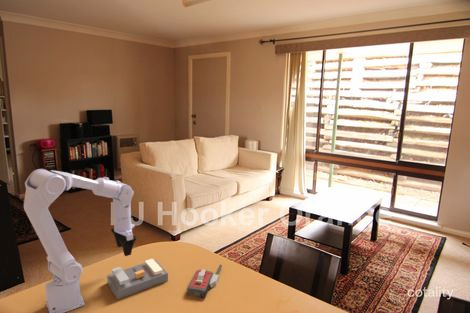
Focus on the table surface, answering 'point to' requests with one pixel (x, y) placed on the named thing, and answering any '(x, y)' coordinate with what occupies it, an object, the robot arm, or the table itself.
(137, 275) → the orange rectangular block
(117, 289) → the panel
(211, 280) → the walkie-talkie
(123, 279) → the grey bar
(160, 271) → the cream bar
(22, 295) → the table surface
